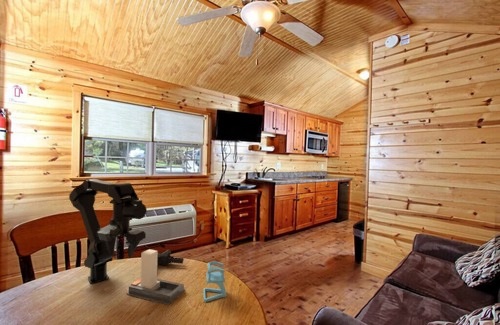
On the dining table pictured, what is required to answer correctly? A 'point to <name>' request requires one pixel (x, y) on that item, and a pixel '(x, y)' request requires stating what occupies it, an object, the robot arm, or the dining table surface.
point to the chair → (215, 280)
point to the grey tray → (157, 291)
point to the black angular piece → (167, 258)
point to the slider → (149, 270)
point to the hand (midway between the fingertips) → (120, 255)
